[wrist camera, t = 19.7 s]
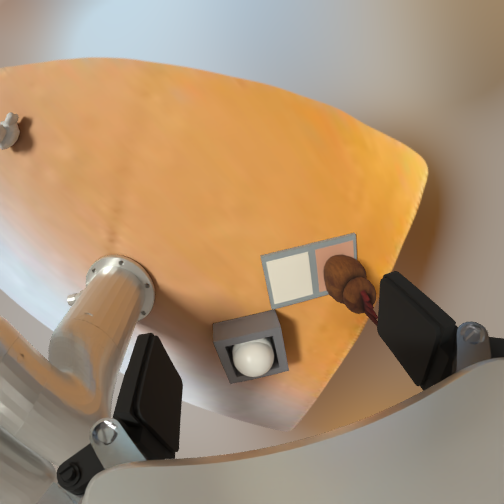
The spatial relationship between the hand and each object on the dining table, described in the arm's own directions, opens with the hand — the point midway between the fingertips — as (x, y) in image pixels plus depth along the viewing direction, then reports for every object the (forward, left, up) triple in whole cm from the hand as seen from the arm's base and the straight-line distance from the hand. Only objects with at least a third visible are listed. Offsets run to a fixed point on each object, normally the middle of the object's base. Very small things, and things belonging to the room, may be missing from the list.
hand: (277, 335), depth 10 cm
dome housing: (-3, -26, -30) cm, 40 cm away
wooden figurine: (+14, -15, -30) cm, 36 cm away
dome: (-3, -26, -29) cm, 39 cm away
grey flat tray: (+10, -15, -30) cm, 35 cm away
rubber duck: (-34, +23, -31) cm, 51 cm away
